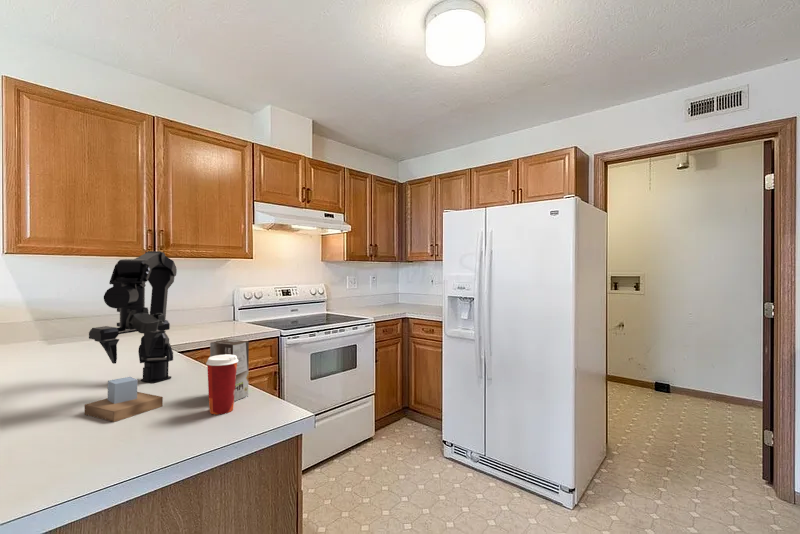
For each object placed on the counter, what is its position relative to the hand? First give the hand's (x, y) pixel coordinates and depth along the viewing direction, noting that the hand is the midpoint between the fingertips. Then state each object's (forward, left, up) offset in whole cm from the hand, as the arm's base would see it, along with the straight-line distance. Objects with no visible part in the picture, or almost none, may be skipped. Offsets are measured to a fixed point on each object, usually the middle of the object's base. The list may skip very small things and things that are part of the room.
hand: (131, 359), depth 107 cm
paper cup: (-4, +30, -12) cm, 32 cm away
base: (+6, +7, -11) cm, 14 cm away
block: (+5, +5, -9) cm, 11 cm away
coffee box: (-13, +23, -12) cm, 29 cm away
